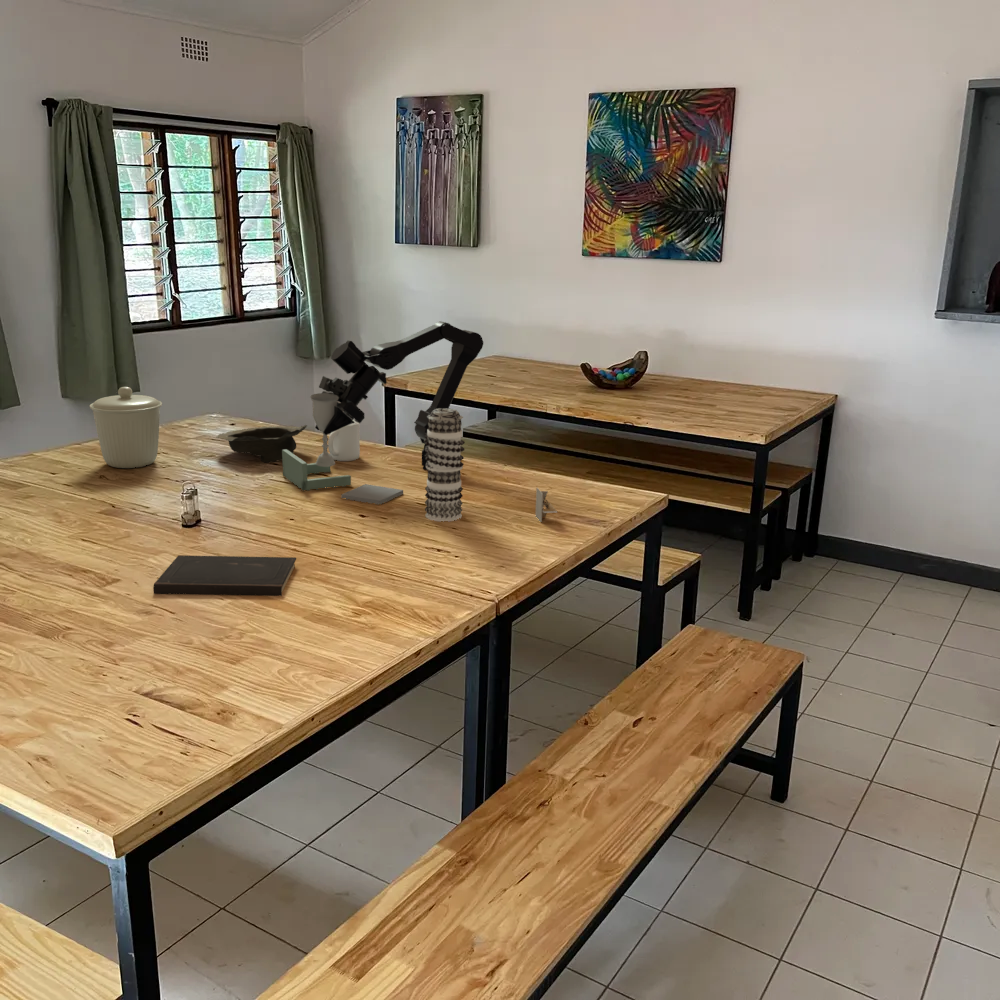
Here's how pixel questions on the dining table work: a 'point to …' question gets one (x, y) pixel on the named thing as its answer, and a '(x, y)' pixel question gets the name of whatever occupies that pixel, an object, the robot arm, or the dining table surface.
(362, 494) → the rubber mat
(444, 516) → the decorative candle
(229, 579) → the hardcover book
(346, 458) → the mug
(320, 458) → the chalice
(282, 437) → the stone bowl
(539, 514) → the grey angled bracket piece
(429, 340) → the robot arm
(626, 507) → the dining table surface
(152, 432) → the canister
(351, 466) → the dining table surface
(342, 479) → the u-shaped frame
